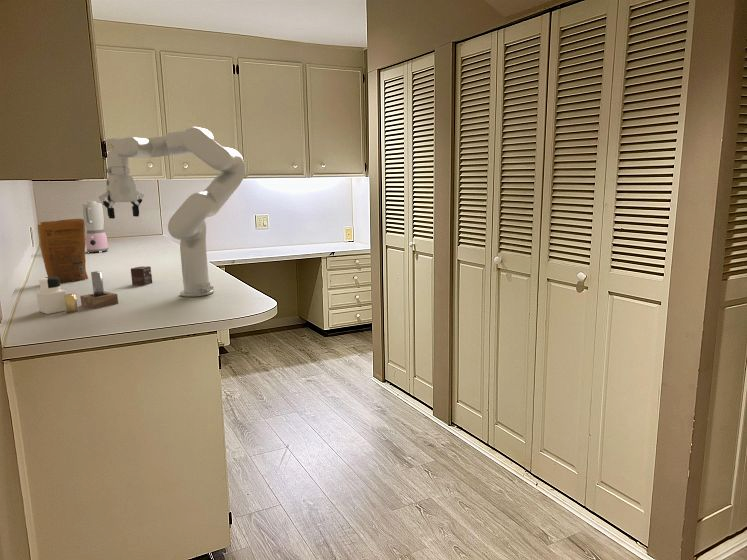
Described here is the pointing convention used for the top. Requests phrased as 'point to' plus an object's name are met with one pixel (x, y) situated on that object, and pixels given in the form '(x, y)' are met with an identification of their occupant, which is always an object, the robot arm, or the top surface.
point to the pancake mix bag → (63, 249)
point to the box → (141, 275)
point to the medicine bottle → (51, 296)
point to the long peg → (97, 283)
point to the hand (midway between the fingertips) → (124, 217)
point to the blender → (94, 226)
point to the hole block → (99, 300)
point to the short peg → (71, 303)
